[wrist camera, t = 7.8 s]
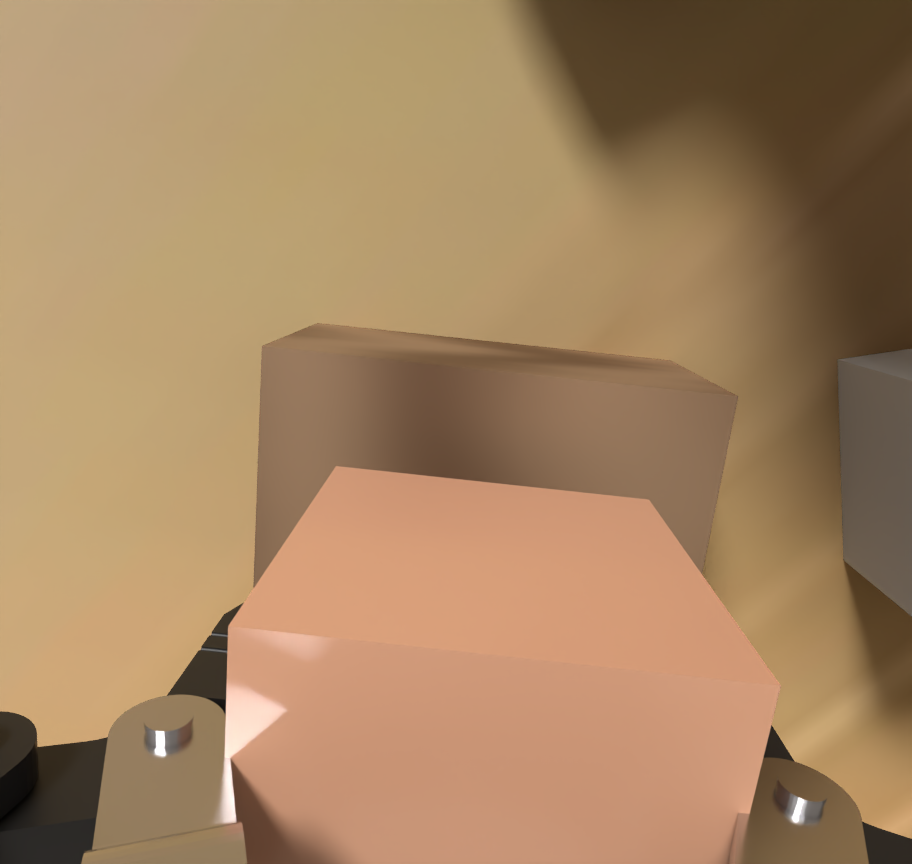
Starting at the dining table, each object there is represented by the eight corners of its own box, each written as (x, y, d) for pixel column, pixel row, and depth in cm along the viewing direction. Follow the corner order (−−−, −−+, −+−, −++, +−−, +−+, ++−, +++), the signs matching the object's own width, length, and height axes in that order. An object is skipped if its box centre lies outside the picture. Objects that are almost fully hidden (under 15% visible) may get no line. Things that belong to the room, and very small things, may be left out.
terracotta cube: (648, 499, 12) (780, 685, 7) (601, 767, 14) (680, 1095, 8) (335, 466, 12) (227, 625, 7) (318, 736, 14) (217, 1044, 8)
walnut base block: (668, 359, 18) (738, 396, 13) (613, 668, 20) (656, 798, 15) (319, 322, 18) (261, 345, 13) (302, 635, 20) (247, 754, 15)
